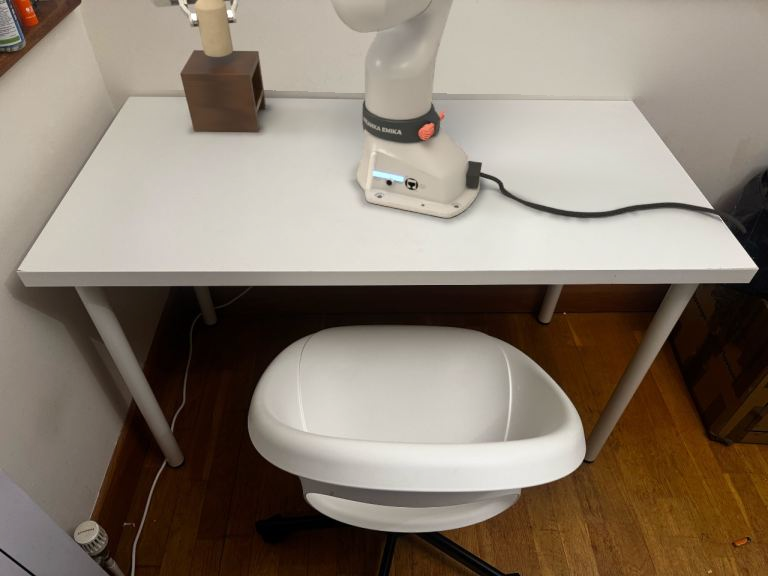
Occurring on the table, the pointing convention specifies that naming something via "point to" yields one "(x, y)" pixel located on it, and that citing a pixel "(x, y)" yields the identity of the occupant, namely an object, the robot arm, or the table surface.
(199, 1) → the candle
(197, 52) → the shelf
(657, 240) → the table surface
